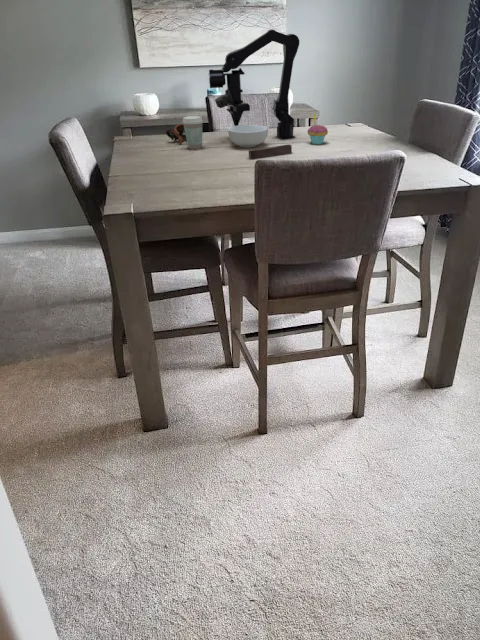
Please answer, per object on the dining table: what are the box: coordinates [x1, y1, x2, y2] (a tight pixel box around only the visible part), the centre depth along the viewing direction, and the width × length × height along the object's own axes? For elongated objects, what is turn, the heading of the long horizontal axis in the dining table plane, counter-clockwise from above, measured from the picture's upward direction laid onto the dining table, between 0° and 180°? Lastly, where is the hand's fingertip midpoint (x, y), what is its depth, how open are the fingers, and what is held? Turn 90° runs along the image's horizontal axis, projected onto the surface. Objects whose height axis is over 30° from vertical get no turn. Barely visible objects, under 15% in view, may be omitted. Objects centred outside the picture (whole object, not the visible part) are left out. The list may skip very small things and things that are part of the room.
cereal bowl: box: [227, 124, 269, 149], centre depth 210 cm, size 17×17×7 cm
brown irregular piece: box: [165, 123, 187, 145], centre depth 220 cm, size 12×10×8 cm
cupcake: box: [307, 112, 329, 145], centre depth 208 cm, size 9×8×12 cm
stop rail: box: [248, 144, 293, 160], centre depth 195 cm, size 18×2×3 cm, turn 116°
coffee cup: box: [182, 115, 204, 150], centre depth 208 cm, size 8×8×12 cm
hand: (236, 126), depth 218 cm, fingers closed
